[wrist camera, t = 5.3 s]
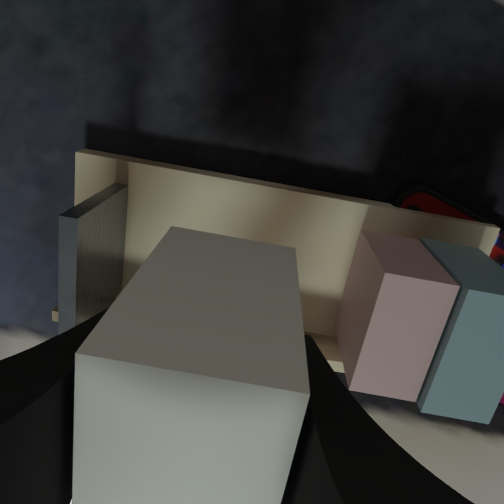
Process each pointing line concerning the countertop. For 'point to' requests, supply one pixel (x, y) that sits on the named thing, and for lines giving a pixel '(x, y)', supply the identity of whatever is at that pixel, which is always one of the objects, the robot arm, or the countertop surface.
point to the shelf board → (263, 225)
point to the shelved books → (424, 325)
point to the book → (194, 378)
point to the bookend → (91, 255)
